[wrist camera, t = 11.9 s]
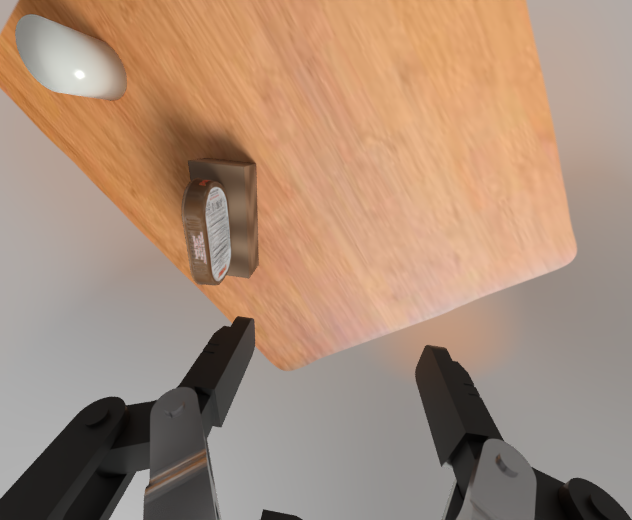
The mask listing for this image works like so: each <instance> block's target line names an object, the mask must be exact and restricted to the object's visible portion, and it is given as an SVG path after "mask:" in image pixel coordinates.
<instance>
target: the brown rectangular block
mask: <svg viewBox="0 0 632 520" xmlns="http://www.w3.org/2000/svg"><path fill="white" fill-rule="evenodd" d="M188 165H189V172H190V179H191V181H192V180H193V179H195V178H201V179H203V180H212V181H217V182H219V183H220V184H221V185H222V186H223V187H224V189H225V191H226V194H227V197H228V203H229V215H230V229H231V246H232V256H231V263H230V268H229V271H228V273H227V275H228V276H236V277H243V278H250V277H251V275H252V274H253V272H254V271H255V269H256V268H257V266H258V265H259V259H258V218H257V177H256V164H254V163H245V162H236V161H227V160H218V159H209V158H204V159H197V160H189V161H188Z"/></svg>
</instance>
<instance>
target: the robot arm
mask: <svg viewBox="0 0 632 520" xmlns="http://www.w3.org/2000/svg"><path fill="white" fill-rule="evenodd" d="M254 347H255V325H254V319H253V318H246V317H239V316H238V317H236V319H235V320H234V322H233V324H232V325H231V327H227V326H223V327H222V328H221V329H219V330H218V331H217V332H215V333H214V335H213V336H212V337H211V339H210V340H209V342H208V344H207V345H206V347H205V348H204V349H203V352H202V353H201V354H200V356H199V357H198V358H197V360H196V361H195V363H194V364H193V366H192V367H191V369H190V370H189V372H188V373H187V374H186V376H185V377H184V379H183V380H182V382H181V383H180V385H179V386H178V387H177V388H176V389H172V390H170V391H168V392H167V393H165V394H164V395H162V396H161V397H160V398H159V399H158V400H155V401H151V402H145V403H139V404H133V405H125V403H124V401H123V400H122V399H121V398H119V397H107V398H103V399H100V400H97V401H95V402H93V403H92V404H90V405H88V406H87V407H85V408H84V409H83V410H82V411H80V412H79V413H78V414H77V415H76V416H75V417H74V419H73V420H72V421H71V422H70V423H69V424H68V425H67V426H66V427H65V429H64V430H63V431H62V432H61V433H60V434H59V435H58V436H57V437H56V438H55V439H54V441H53V442H52V443H51V444H50V445H49V446H48V447H47V448H46V449H45V451H44V452H43V453H42V454H41V455H40V456H39V457H38V458H37V459H36V460H35V461H34V463H33V464H32V465H31V466H30V467H29V468H28V469H27V470H26V471H25V472H24V474H23V475H22V476H21V477H20V478H19V479H18V480H17V481H16V483H14V485H13V486H12V487H11V488H10V489H9V490H8V491H7V492H6V493H5V494H4V496H3V497H2V498H1V499H0V520H109V518H110V517H111V515H112V513H113V511H114V509H115V508H116V506H117V504H118V503H119V501H120V499H121V497H122V496H123V494H124V492H125V491H126V488H127V487H128V485H129V483H130V482H131V480H132V478H133V476H134V475H135V473H136V471H141V470H145V469H150V481H149V485H148V486H147V487H146V489H145V495H144V515H143V516H144V517H143V518H144V519H143V520H221V515H220V510H219V505H218V500H217V494H216V489H215V483H214V477H213V471H212V465H211V460H210V454H209V449H208V443H207V437H208V435H209V433H210V431H211V428H212V426H216V427H222V424H223V422H224V420H225V417H226V415H227V413H228V410H229V408H230V406H231V403H232V401H233V399H234V396H235V394H236V392H237V390H238V387H239V384H240V383H241V380H242V378H243V376H244V373H245V371H246V368H247V366H248V364H249V361H250V359H251V357H252V354H253V351H254ZM415 373H416V374H415V375H416V376H415V377H416V382H417V386H418V389H419V393H420V396H421V399H422V403H423V406H424V410H425V413H426V417H427V420H428V423H429V426H430V430H431V433H432V437H433V440H434V444H435V447H436V451H437V454H438V457H439V460H440V464H441V467H442V468H448V469H453V471H454V473H455V477H456V479H455V481H454V483H453V485H452V489H451V492H450V495H449V498H448V501H447V504H446V507H445V510H444V513H443V516H442V520H632V519H631V518H630V517H629V515H628V514H627V513H626V511H625V510H624V509H623V508H622V507H621V506H620V505H619V504H618V503H617V502H616V501H615V500H614V499H613V498H612V497H611V496H610V495H609V494H608V493H607V492H605V491H604V490H603V489H601V488H600V487H598V486H597V485H595V484H593V483H592V482H589V481H587V480H585V479H581V478H573V479H571V480H570V481H568V482H567V483H566V484H565V483H563V482H561V481H559V480H557V479H555V478H552V477H551V476H549V475H546V474H545V473H542V472H540V471H538V470H536V469H534V468H533V467H531V466H530V464H529V463H528V461H527V460H526V459H525V458H524V457H523V455H521V453H520V452H518V451H517V450H516V449H515V448H514V447H512V446H511V445H509V444H508V443H506V442H504V440H503V438H502V436H501V435H500V433H499V431H498V429H497V427H496V425H495V423H494V421H493V419H492V418H491V416H490V414H489V412H488V410H487V408H486V406H485V405H484V402H483V400H482V399H481V398H480V395H479V393H478V391H477V389H476V387H474V383H473V382H472V380H471V378H470V376H469V374H468V372H467V371H466V370H465V369H464V368H463V367H462V366H461V365H460V364H459V363H458V362H455V361H452V359H451V357H450V355H449V353H448V351H447V349H446V348H444V347H438V346H431V345H426V346H425V348H424V350H423V352H422V355H421V357H420V360H419V362H418V364H417V367H416V371H415ZM261 520H302V519H301V518H299V517H297V516H294V515H289V514H284V513H279V512H274V511H268V510H263V512H262V517H261Z"/></svg>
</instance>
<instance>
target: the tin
mask: <svg viewBox="0 0 632 520" xmlns="http://www.w3.org/2000/svg"><path fill="white" fill-rule="evenodd" d="M182 220H183V226H184V232H185V238H186V244H187V251H188V257H189V263H190V270H191V274H192V277H193V279H194V281H195V282H196V283H197V284H200V285H203V284H206V285H219V284H220V283H221V282H222V281H223V279H224V278H225V276H226V275H227V273H228V271H229V268H230V263H231V256H232V246H231V229H230V215H229V203H228V197H227V194H226V191H225V189H224V187H223V186H222V185H221V184H220V183H219V182H217V181H212V180H203V179H201V178H195V179H193V180H192V181H191V182H190V183H189V184H188V186H187V187H186V189H185V192H184V195H183V200H182Z"/></svg>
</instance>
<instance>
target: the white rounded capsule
mask: <svg viewBox="0 0 632 520" xmlns="http://www.w3.org/2000/svg"><path fill="white" fill-rule="evenodd" d="M15 36H16V44H17V48H18V51H19V54H20V56H21V58H22V60H23V62H24V64H25V66H26V67H27V69H28V70H29V72H30V73H31V74H32V75H33V76H34V78H35V79H36V80H37V81H38V82H40V83H41V84H42V85H43V86H45V87H46V88H48V89H50V90H52V91H55V92H59V93H65V94H72V95H78V96H84V97H91V98H97V99H103V100H110V101H114V100H118V99H120V98H121V97H122V96H123V95H124V93H125V91H126V87H127V76H126V72H125V68H124V66H123V63H122V61H121V59H120V58H119V56H118V55H117V53H116V52H115V51H114V50H113V49H112V48H111V47H110V46H109V45H108V44H107V43H105V42H103V41H101V40H99V39H97V38H94V37H91V36H89V35H86V34H84V33H81V32H79V31H76V30H74V29H71V28H69V27H66V26H64V25H61V24H59V23H56V22H54V21H51V20H49V19H46V18H44V17H41V16H38V15H34V14H29V15H25V16H23V17H22V18H21V19H20V20H19V22H18V23H17V26H16V33H15Z"/></svg>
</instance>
